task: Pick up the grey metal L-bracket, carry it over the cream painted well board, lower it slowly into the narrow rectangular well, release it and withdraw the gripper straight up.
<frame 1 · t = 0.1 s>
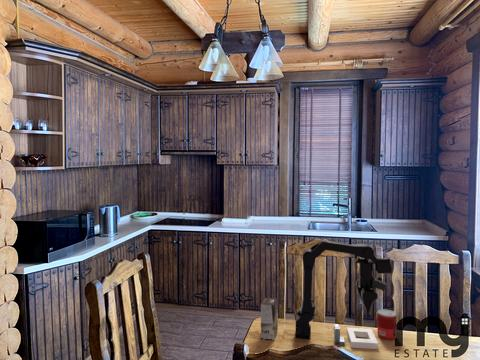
hand: (366, 307, 157), 15 cm above the table, fingers open, 9 cm apart
coffee box: (269, 336, 162), on the table
bracket: (339, 342, 155), on the table
well: (361, 340, 156), on the table
canned food: (386, 336, 160), on the table
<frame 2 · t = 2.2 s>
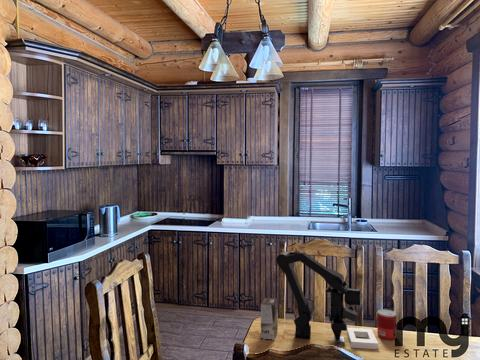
hand: (337, 337, 155), 2 cm above the table, fingers closed on bracket, 5 cm apart
bracket: (339, 342, 155), on the table, touching gripper
everything else where it was.
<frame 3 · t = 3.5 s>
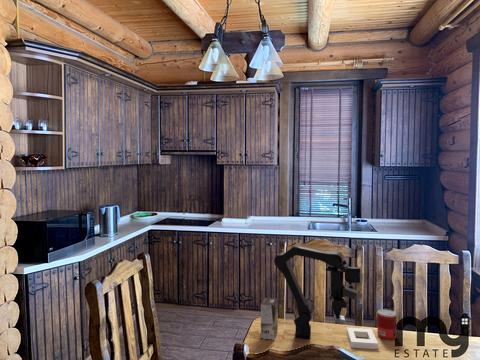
hand: (337, 316, 155), 12 cm above the table, fingers closed on bracket, 5 cm apart
bracket: (339, 321, 155), point 9 cm above the table, touching gripper
everything else where it was.
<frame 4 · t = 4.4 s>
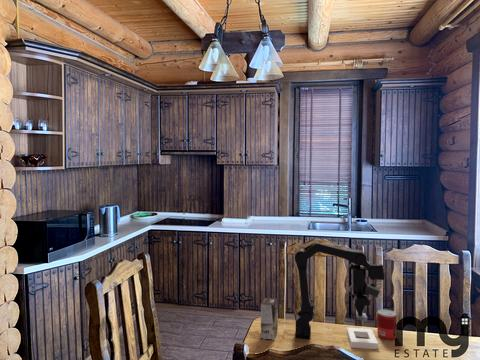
hand: (359, 313, 156), 12 cm above the table, fingers closed on bracket, 5 cm apart
bracket: (361, 318, 156), point 10 cm above the table, touching gripper
everything else where it was.
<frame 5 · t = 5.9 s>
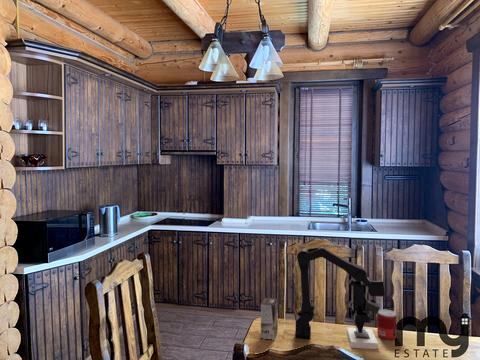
hand: (359, 329, 156), 5 cm above the table, fingers closed on bracket, 5 cm apart
bracket: (361, 334, 156), point 3 cm above the table, touching gripper
everything else where it was.
when the fingers open (3 cm above the table, at t = 6.7 s): bracket drops 2 cm, resting in well.
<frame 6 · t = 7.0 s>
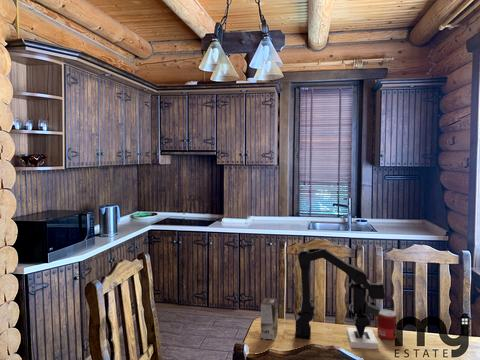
hand: (359, 332, 156), 3 cm above the table, fingers open, 8 cm apart
bracket: (361, 340, 156), resting in well
everything else where it was.
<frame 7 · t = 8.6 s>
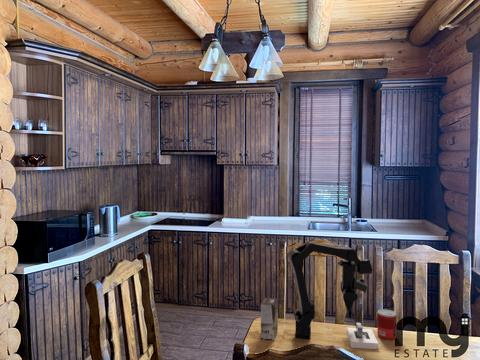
hand: (348, 308, 163), 12 cm above the table, fingers open, 9 cm apart
nothing on the table moved.
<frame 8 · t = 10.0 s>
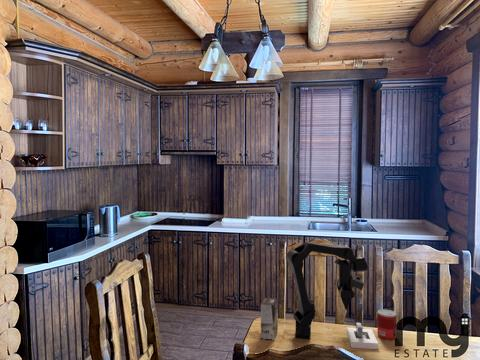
hand: (345, 305, 166), 12 cm above the table, fingers open, 9 cm apart
nothing on the table moved.
at the end: bracket 0.1 cm off-centre on the well, point 0.0 cm above the well's base; bracket tilted 0°; the gripper is holding nothing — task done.
